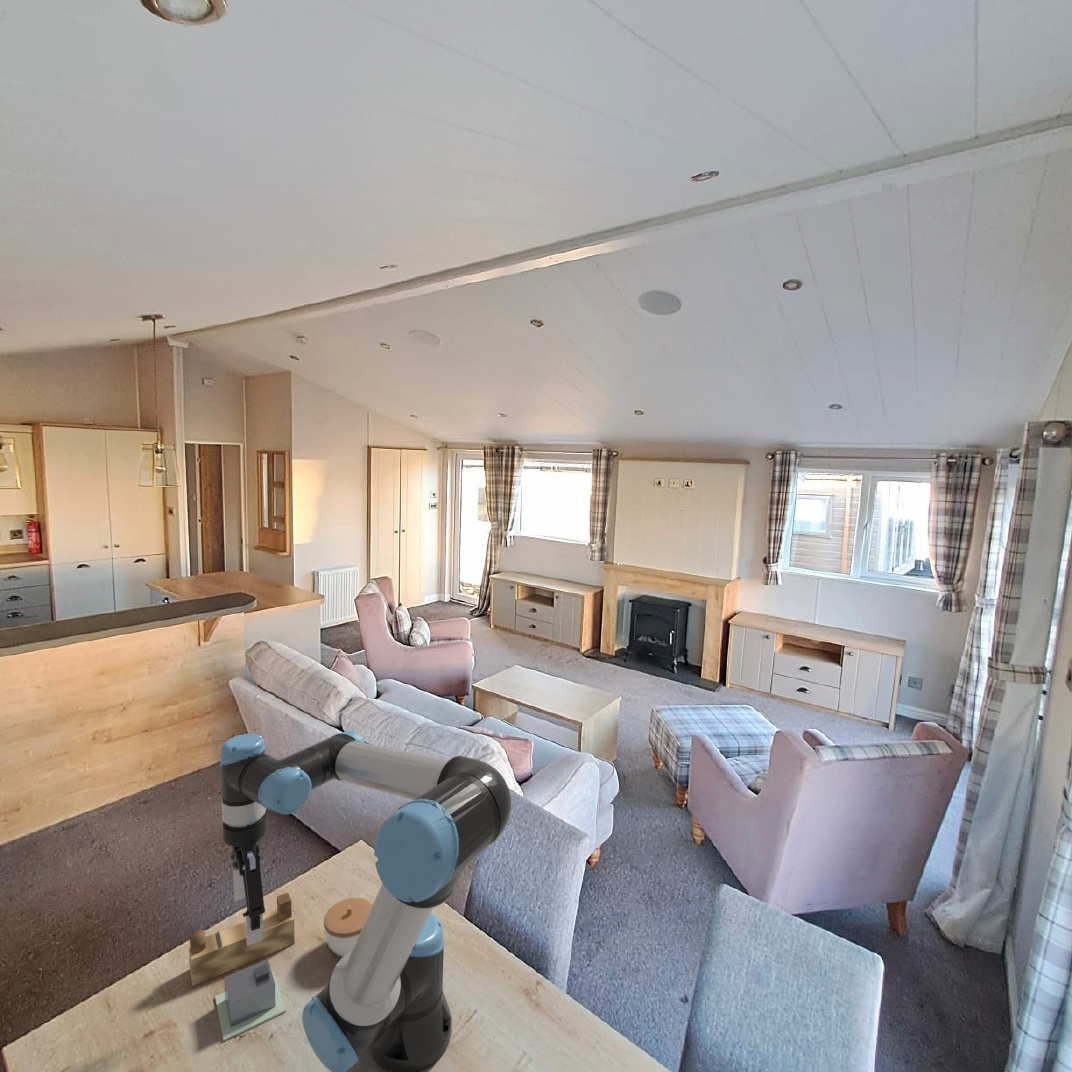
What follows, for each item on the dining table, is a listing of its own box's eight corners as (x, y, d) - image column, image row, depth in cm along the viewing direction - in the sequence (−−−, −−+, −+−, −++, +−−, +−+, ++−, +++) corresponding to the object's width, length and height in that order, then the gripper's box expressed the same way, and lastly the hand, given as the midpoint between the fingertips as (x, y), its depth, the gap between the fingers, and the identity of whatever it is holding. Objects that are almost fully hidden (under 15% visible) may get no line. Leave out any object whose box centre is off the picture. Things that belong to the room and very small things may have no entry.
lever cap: (275, 1006, 117) (274, 978, 117) (230, 1027, 113) (229, 998, 112) (268, 980, 123) (267, 954, 122) (224, 1000, 118) (224, 972, 118)
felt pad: (286, 1011, 117) (286, 1009, 117) (223, 1041, 110) (223, 1039, 110) (273, 972, 126) (273, 970, 126) (215, 997, 119) (215, 996, 119)
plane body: (289, 929, 137) (288, 889, 136) (294, 943, 133) (293, 902, 132) (189, 969, 126) (187, 926, 125) (192, 986, 122) (190, 941, 121)
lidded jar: (381, 930, 138) (381, 893, 137) (363, 969, 127) (363, 929, 126) (337, 925, 139) (336, 888, 138) (315, 963, 128) (315, 923, 127)
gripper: (280, 844, 105) (283, 953, 108) (253, 782, 126) (256, 874, 128) (234, 859, 101) (237, 972, 104) (213, 792, 121) (217, 888, 124)
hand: (248, 918), depth 116 cm, fingers open, 13 cm apart
